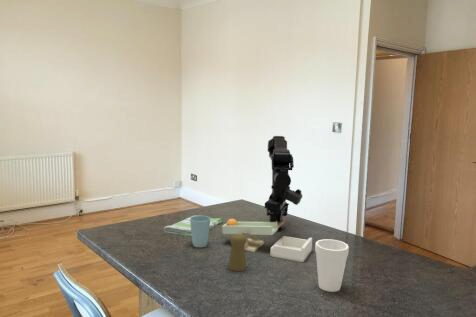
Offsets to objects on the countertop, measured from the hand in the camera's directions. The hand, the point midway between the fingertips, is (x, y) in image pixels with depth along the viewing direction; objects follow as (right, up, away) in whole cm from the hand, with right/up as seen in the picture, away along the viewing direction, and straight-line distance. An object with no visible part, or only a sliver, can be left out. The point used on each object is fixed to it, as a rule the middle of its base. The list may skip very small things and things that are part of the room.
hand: (278, 221), depth 151 cm
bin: (+3, -10, -12) cm, 16 cm away
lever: (-10, -2, -2) cm, 10 cm away
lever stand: (-12, -8, -5) cm, 15 cm away
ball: (-18, 0, -3) cm, 19 cm away
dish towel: (-35, -6, +16) cm, 39 cm away
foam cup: (+11, -13, -37) cm, 41 cm away
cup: (-31, -8, -6) cm, 32 cm away
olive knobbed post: (-16, -11, -25) cm, 32 cm away
